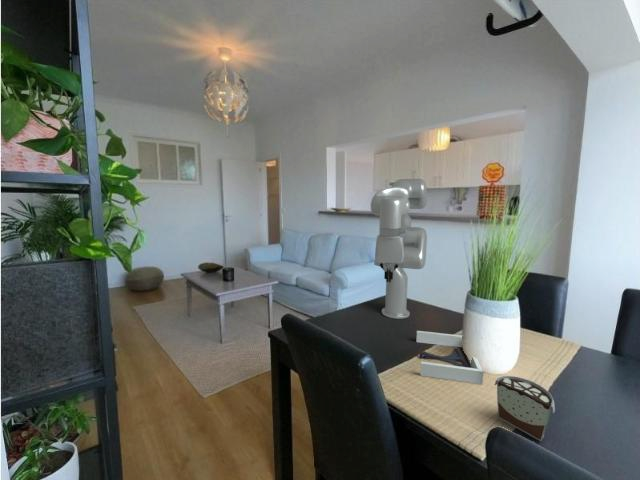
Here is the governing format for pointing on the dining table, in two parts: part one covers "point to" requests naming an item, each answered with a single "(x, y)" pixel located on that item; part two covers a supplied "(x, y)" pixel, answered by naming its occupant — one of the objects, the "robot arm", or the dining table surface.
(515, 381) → the mint chocolate cake slice
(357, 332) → the dining table surface
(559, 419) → the dining table surface
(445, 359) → the bracket
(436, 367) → the box
